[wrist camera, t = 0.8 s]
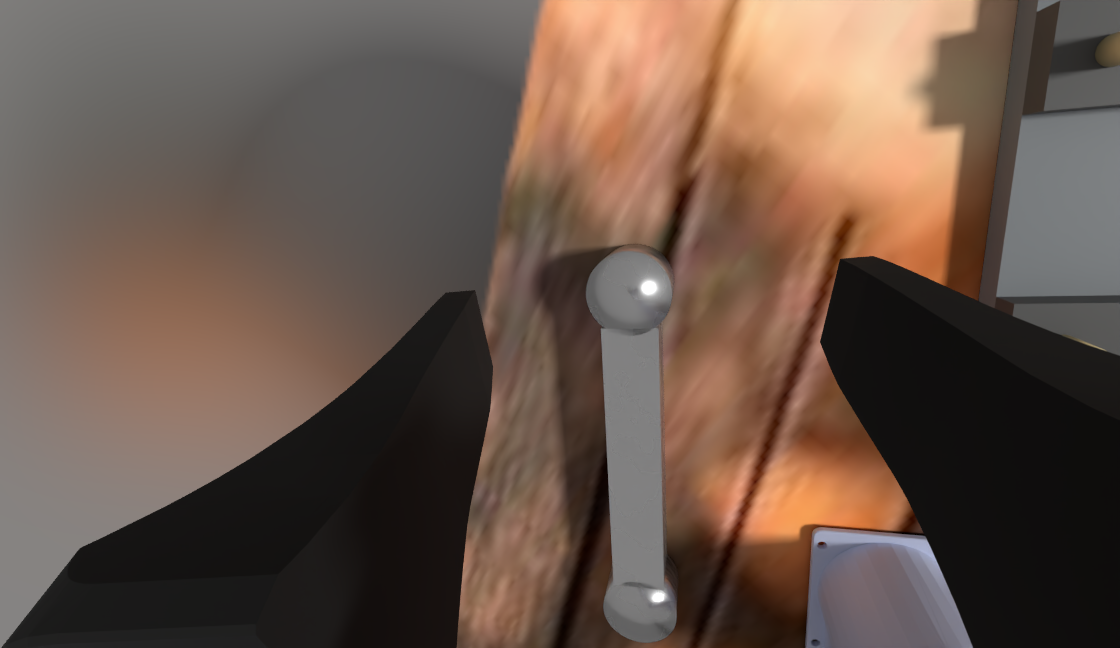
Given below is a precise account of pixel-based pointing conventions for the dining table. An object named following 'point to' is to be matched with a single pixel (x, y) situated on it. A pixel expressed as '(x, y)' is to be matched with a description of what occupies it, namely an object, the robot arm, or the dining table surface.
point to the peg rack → (1060, 175)
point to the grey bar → (636, 438)
